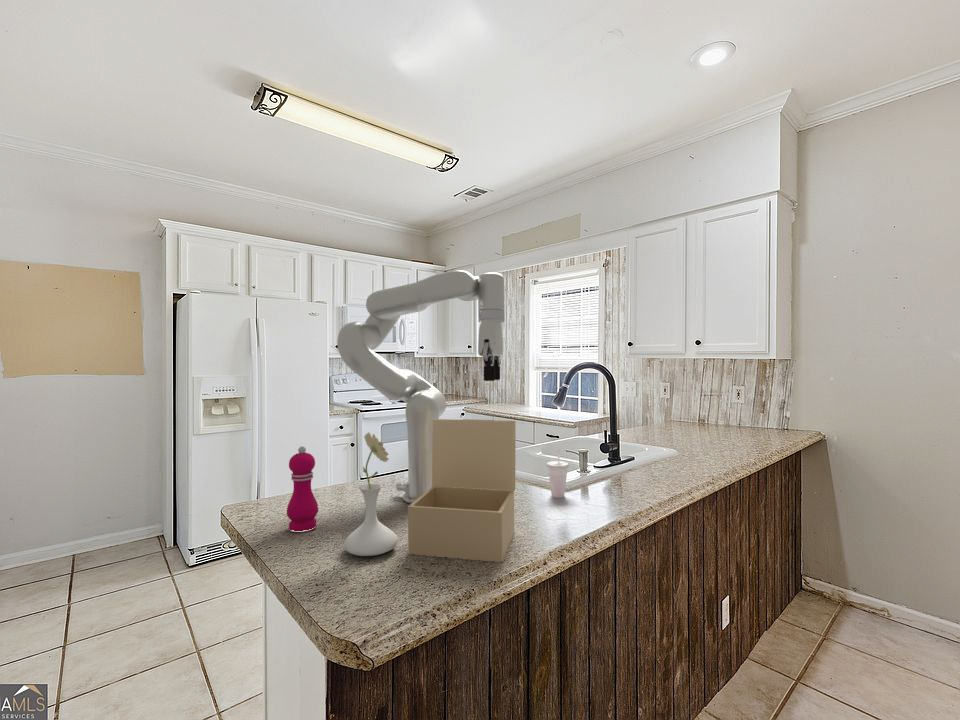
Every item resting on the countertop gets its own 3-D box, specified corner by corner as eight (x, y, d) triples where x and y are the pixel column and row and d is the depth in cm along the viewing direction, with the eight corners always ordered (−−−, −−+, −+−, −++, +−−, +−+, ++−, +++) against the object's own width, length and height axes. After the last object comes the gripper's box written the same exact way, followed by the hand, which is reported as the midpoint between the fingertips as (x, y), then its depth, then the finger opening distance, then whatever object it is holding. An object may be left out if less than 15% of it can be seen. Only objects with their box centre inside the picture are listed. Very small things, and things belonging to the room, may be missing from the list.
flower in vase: (401, 557, 97) (400, 436, 97) (343, 565, 94) (342, 440, 94) (394, 535, 110) (393, 428, 109) (343, 540, 106) (342, 430, 106)
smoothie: (573, 495, 139) (572, 448, 139) (561, 500, 135) (560, 451, 135) (555, 491, 144) (554, 445, 144) (542, 496, 139) (542, 449, 139)
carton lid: (432, 419, 115) (441, 417, 122) (431, 486, 114) (440, 480, 121) (515, 420, 111) (519, 419, 118) (514, 490, 110) (519, 485, 116)
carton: (408, 554, 99) (407, 506, 99) (433, 527, 114) (432, 486, 114) (502, 562, 94) (501, 512, 94) (514, 533, 110) (514, 490, 110)
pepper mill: (288, 536, 110) (287, 450, 110) (285, 526, 116) (284, 445, 116) (320, 530, 113) (319, 447, 113) (316, 521, 119) (315, 442, 119)
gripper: (487, 319, 144) (487, 378, 144) (469, 314, 128) (470, 381, 128) (511, 318, 142) (511, 379, 142) (496, 313, 126) (496, 381, 126)
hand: (492, 379), depth 135 cm, fingers open, 4 cm apart
